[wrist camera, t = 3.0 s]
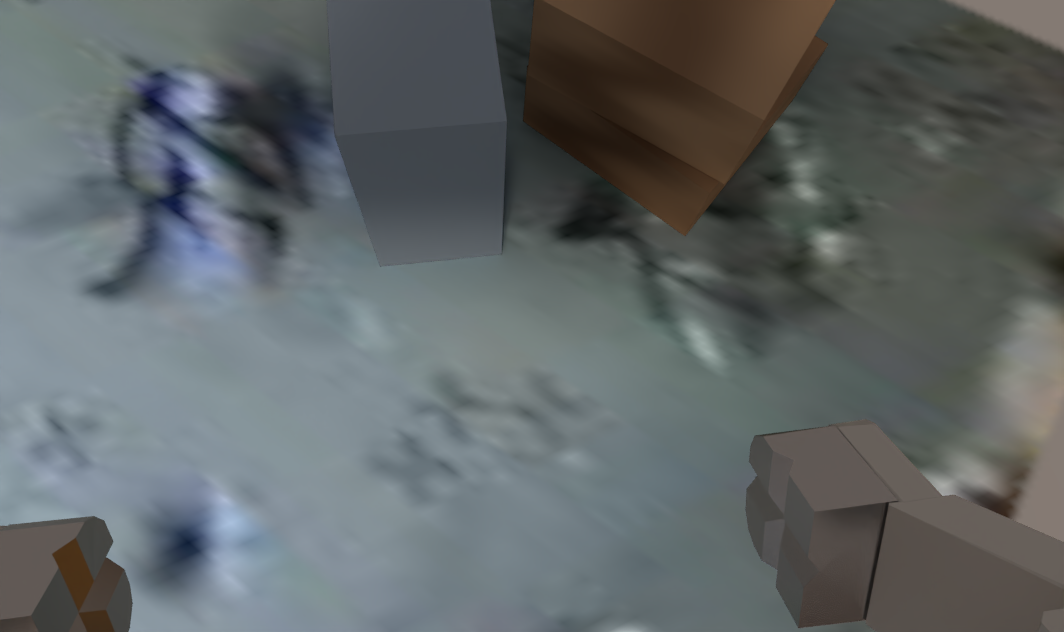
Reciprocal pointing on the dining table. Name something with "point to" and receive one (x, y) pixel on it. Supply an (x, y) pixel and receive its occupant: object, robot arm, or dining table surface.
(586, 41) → the tower top
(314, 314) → the dining table surface
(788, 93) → the tower base
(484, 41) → the pillar
